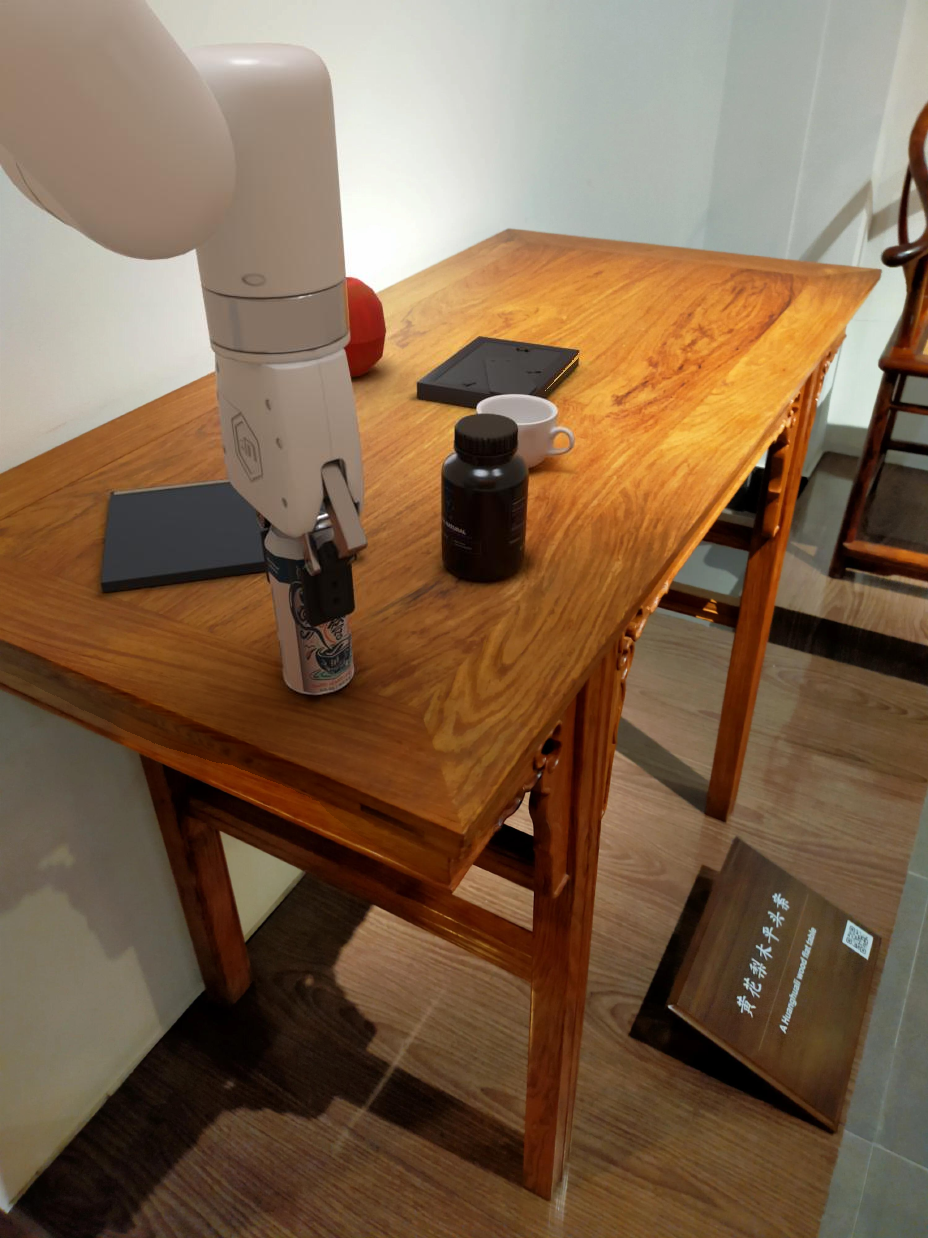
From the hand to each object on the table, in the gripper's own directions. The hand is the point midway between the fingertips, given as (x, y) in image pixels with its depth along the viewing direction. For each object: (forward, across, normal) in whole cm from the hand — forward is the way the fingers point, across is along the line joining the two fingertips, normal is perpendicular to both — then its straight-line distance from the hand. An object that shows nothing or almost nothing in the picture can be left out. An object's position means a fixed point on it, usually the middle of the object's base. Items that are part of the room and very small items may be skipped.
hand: (310, 595), depth 60 cm
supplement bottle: (+7, -6, +18) cm, 20 cm away
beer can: (+7, 0, 0) cm, 7 cm away
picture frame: (+7, -38, +44) cm, 59 cm away
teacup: (+7, -19, +32) cm, 38 cm away
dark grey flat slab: (+7, -23, +3) cm, 24 cm away
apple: (+7, -52, +30) cm, 60 cm away
